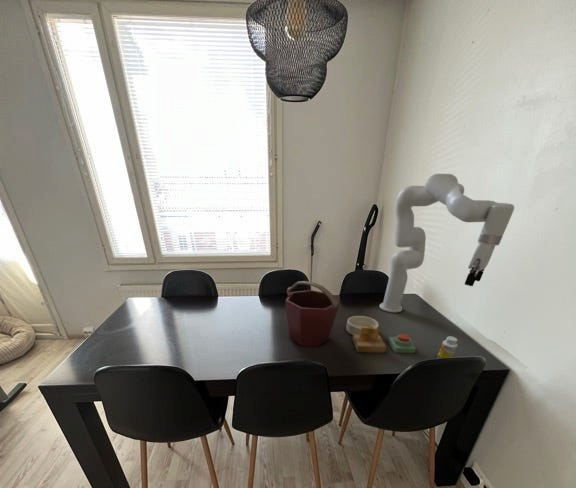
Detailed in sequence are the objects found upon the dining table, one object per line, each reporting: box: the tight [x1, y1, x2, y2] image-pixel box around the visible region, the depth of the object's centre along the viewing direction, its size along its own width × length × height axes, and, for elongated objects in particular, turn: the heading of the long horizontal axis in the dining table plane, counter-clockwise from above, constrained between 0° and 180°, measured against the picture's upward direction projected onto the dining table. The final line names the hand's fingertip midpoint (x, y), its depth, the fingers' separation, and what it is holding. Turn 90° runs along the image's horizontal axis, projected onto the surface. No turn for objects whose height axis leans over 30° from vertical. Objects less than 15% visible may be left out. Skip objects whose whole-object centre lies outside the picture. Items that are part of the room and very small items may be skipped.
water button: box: [398, 333, 410, 342], centre depth 129 cm, size 4×4×2 cm
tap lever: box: [360, 326, 380, 340], centre depth 130 cm, size 8×2×5 cm, turn 76°
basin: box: [345, 315, 379, 336], centre depth 141 cm, size 15×15×5 cm
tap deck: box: [352, 334, 387, 354], centre depth 131 cm, size 13×12×3 cm
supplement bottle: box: [436, 336, 458, 359], centre depth 121 cm, size 6×6×10 cm
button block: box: [387, 334, 417, 354], centre depth 131 cm, size 10×9×4 cm
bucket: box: [284, 280, 340, 347], centre depth 129 cm, size 24×22×25 cm
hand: (472, 282), depth 123 cm, fingers open, 9 cm apart
